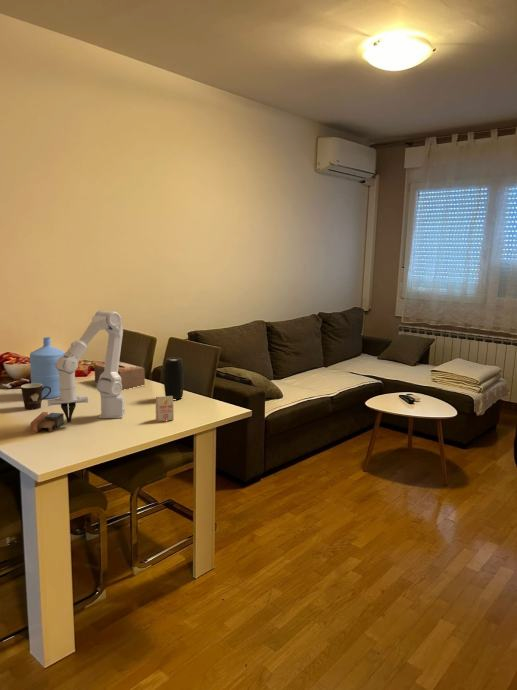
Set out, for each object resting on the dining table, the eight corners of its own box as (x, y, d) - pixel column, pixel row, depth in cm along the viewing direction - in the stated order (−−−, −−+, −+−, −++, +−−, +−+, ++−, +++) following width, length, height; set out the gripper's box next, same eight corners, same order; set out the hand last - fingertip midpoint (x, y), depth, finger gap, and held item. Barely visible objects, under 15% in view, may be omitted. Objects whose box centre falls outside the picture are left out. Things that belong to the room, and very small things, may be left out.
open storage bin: (63, 424, 197) (63, 413, 196) (57, 428, 192) (57, 417, 191) (51, 423, 197) (51, 412, 197) (45, 427, 192) (44, 416, 192)
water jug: (58, 399, 233) (56, 340, 228) (25, 399, 233) (22, 339, 229) (71, 391, 248) (69, 335, 244) (40, 390, 248) (37, 335, 244)
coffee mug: (20, 411, 213) (19, 388, 212) (24, 405, 221) (22, 383, 220) (49, 409, 216) (48, 387, 215) (52, 404, 225) (51, 382, 223)
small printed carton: (155, 419, 205) (155, 395, 204) (172, 418, 208) (172, 394, 206) (156, 422, 202) (156, 398, 200) (173, 420, 204) (173, 397, 203)
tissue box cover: (144, 386, 263) (144, 368, 261) (120, 391, 252) (119, 371, 251) (118, 378, 280) (118, 361, 279) (94, 382, 270) (94, 364, 268)
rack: (61, 421, 200) (60, 411, 200) (50, 432, 186) (50, 422, 186) (42, 421, 199) (42, 412, 199) (31, 433, 186) (30, 422, 185)
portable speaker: (187, 399, 238) (187, 358, 235) (169, 402, 232) (169, 360, 229) (178, 395, 245) (178, 356, 242) (161, 398, 239) (160, 358, 236)
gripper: (86, 384, 198) (87, 417, 200) (46, 386, 192) (48, 420, 194) (87, 388, 192) (89, 422, 194) (47, 391, 186) (48, 426, 188)
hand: (68, 421), depth 194 cm, fingers closed
